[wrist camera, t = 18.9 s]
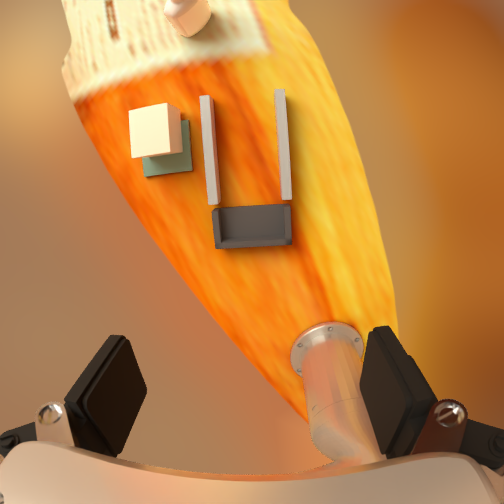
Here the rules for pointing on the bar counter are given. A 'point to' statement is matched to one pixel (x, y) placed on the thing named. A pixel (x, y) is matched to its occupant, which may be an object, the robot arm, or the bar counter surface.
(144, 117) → the cream block
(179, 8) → the eye dropper bottle
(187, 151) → the green coaster
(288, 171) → the channel
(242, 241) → the tray
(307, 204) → the bar counter surface
